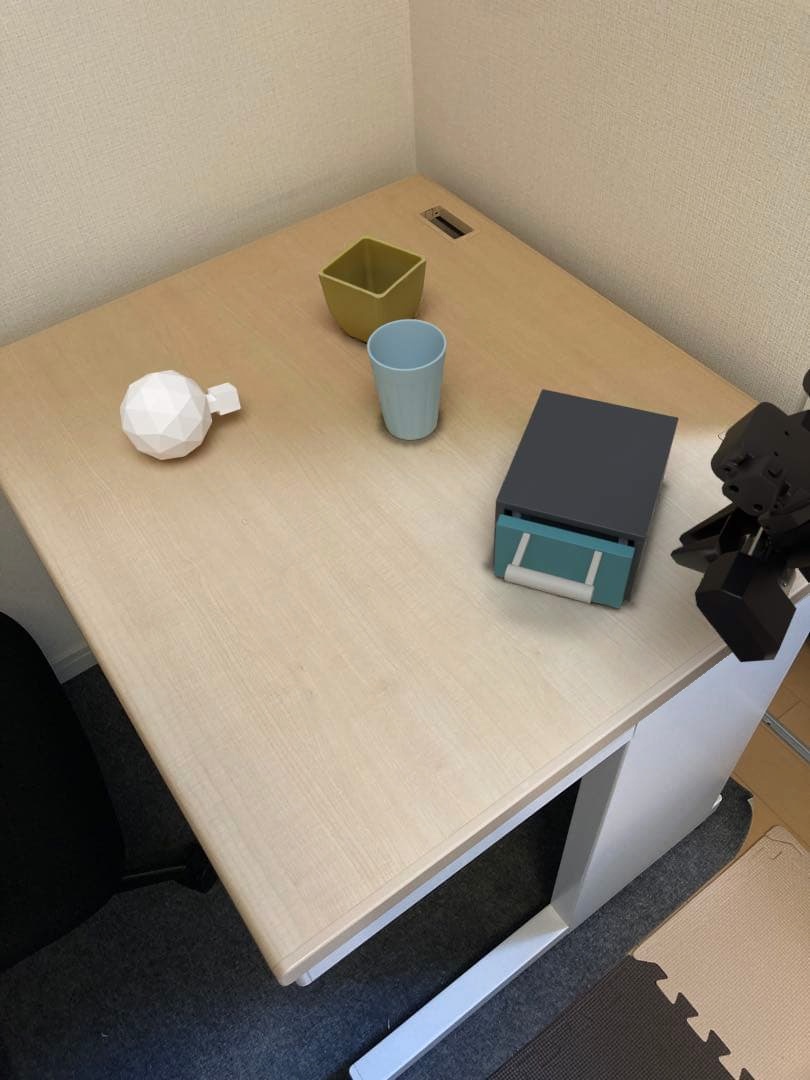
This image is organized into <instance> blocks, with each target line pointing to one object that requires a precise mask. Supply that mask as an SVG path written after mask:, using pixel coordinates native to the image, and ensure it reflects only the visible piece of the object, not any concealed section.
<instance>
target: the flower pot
mask: <svg viewBox="0 0 810 1080" xmlns="http://www.w3.org/2000/svg"><path fill="white" fill-rule="evenodd" d="M427 260H428V259H427V257H426V255H423V254H421V253H418V252H414V251H412V250H409V249H406V248H403V247H400V246H398V245H395V244H392V243H389V242H388V241H384V240H381V239H379V238H376V237H373V236H370V235H366V234H364V235H362V236H361V237H359V238H358V239H357V240H355V241H353V242H352V243H351V244H349V246H347V247H346V248H345V249H343V250H342V251H341V252H340V253H338V255H337V256H335V257H333V258H332V260H330V261H329V262H327V263H326V264H325V265H324V266H322V268H321V269H320V270H319V271H318V272H317V276H318V279H319V282H320V286H321V289H322V292H323V296H324V299H325V303H326V305H327V308H328V311H329V313H330V315H331V316H332V318H333V320H334V321H335V322H336V323H337V325H338V326H339V328H341V329H342V330H343V331H344V332H345V333H346V334H347V335H348V336H350V337H352V338H355V339H357V340H359V341H362V342H364V343H366V344H367V343H368V340H369V338H370V336H371V335H372V333H373V332H374V331H375V330H377V329H378V328H379V327H381V326H383V325H385V324H387V323H390V322H393V321H397V320H404V319H414V317H415V315H416V313H417V312H418V310H419V307H420V304H421V301H422V297H423V293H424V286H425V285H424V284H425V276H426V267H427Z"/></svg>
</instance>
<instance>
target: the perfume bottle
mask: <svg viewBox="0 0 810 1080" xmlns="http://www.w3.org/2000/svg"><path fill="white" fill-rule="evenodd" d="M237 389H238V388H237V387H235V386H234V385H232V384H231V383H229V382H224V383H221V384H217V385H215V386H212V387H208V388H207V392H208V393H207V394H205V393H204V391H203V390H202V389H201V387H200V386H199V385H198V383H197V382H196V381H195V380H194V379H193V378H190V377H188V376H187V375H183V374H181V373H179V372H177V371H176V370H173V369H169V370H161V371H157V372H150V373H147V374H146V375H143V376H142V377H140V378H139V379H136V381H134V382H132V383H130V384H129V386H128V387H127V391H126V393H125V396H124V397H123V400H122V402H121V404H120V406H119V413H120V419H121V427H122V430H123V432H124V433H125V435H126V436H127V437H128V439H129V440H130V442H131V443H132V444H133V446H134V447H135V448H136V450H137V451H139V452H141V453H144V454H145V455H148V456H150V457H153V458H155V459H157V460H159V461H163V460H170V459H177V458H182V457H183V458H184V457H187V455H189V454H190V453H191V452H193V451H194V450H196V449H197V448H198V447H199V446H201V445H202V443H203V441H204V440H205V437H206V435H207V433H208V431H209V430H210V428H211V425H212V423H213V419H212V418H213V417H212V414H213V413H215V412H216V413H217V414H218V416H223V415H226V414H230V413H233V412H235V411H239V410H240V409H242V407H241V403H240V398H239V394H238V390H237Z"/></svg>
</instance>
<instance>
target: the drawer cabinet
mask: <svg viewBox="0 0 810 1080" xmlns="http://www.w3.org/2000/svg"><path fill="white" fill-rule="evenodd" d="M536 400H537V401H536V403H535V406H534V407H533V410H532V412H531V415H530V417H529V419H528V422H527V425H526V427H525V430H524V431H523V434H522V436H521V439H520V442H519V443H518V446H517V448H516V450H515V453H514V456H513V457H512V461H511V463H510V465H509V468H508V470H507V473H506V475H505V477H504V480H503V482H502V484H501V487H500V490H499V492H498V494H497V496H496V499H495V508H494V509H495V510H494V532H493V534H494V535H493V537H494V538H493V554H492V555H493V559H492V566H494V565H495V542H496V523H497V521H498V519H499V516H500V514H503V515H507V516H511V517H512V511H516V512H520V513H524V514H528V515H532V516H536V517H540V518H544V519H548V520H552V521H556V522H560V523H564V524H568V525H572V526H576V527H580V528H584V529H588V530H592V531H596V532H600V533H604V534H608V535H612V536H616V537H620V538H624V539H628V540H631V543H630V547H634V548H635V551H634V555H633V559H632V564H631V568H630V572H629V576H628V580H627V585H626V589H625V593H624V597H623V601H627V602H631V600H632V595H633V591H634V588H635V585H636V581H637V577H638V573H639V570H640V567H641V563H642V559H643V555H644V552H645V548H646V545H647V541H648V537H649V534H650V530H651V526H652V522H653V518H654V515H655V511H656V507H657V504H658V501H659V500H658V499H659V497H660V493H661V489H662V487H663V483H664V477H665V473H666V470H667V466H668V463H669V459H670V454H671V450H672V446H673V442H674V438H675V435H676V430H677V427H678V423H679V417H678V416H672V415H668V414H664V413H658V412H653V411H648V410H644V409H639V408H635V407H630V406H626V405H625V406H624V405H619V404H616V403H611V402H606V401H601V400H597V399H592V398H587V397H583V396H577V395H572V394H568V393H563V392H559V391H553V390H549V389H544V388H542V389H541V391H540V393H539V396H538V398H537V399H536Z"/></svg>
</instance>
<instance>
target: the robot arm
mask: <svg viewBox="0 0 810 1080" xmlns="http://www.w3.org/2000/svg"><path fill="white" fill-rule="evenodd" d="M801 385H802V388H803V391H804V392H805V394H806V395H807V397H808V398H809V399H810V368H809V369H808V370H807V371H806V372H805V374H804V376H803V379H802V383H801ZM710 469H711V470H712V473H713V474H714V475H715V477H717V479H719V480H720V481H721V482H723V484H722V486H721V492H722V495H723V496H724V497H725V498H726V499H728V500H729V501H730V502H731V503H729V504H728V505H726V506H725V507H723V508H721V509H720V510H718V511H717V512H715V513H714V514H712V515H710V516H709V517H707V518H705V519H704V520H703V521H701V522H699V523H697V524H696V525H695V526H692V527H691V528H689V529H688V530H686V531H685V532H683V533H682V534H680V535H679V537H678V540H679V543H681V545H682V546H680V547H677V548H675V549H673V550H671V553H670V557H671V558H672V560H673V561H674V562H675V564H677V565H679V566H681V567H684V568H687V569H690V570H693V571H696V572H699V573H701V574H703V576H702V578H701V580H700V582H699V584H698V586H697V588H696V589H695V592H694V597H695V598H694V599H695V606H696V608H697V609H698V610H699V612H700V613H701V614H702V616H703V617H704V618H705V619H706V621H707V622H708V623H709V624H710V626H711V627H712V628H713V630H714V631H715V633H717V634H718V635H719V638H721V639H722V641H723V642H724V644H725V645H726V646H727V647H728V649H729V650H730V651H731V652H732V654H733V655H734V656H735V658H736V659H737V660H738V661H739V662H740V663H749V662H763V661H774V660H775V659H776V657H777V655H778V653H779V651H780V649H781V647H782V645H783V642H784V639H785V637H786V635H787V632H788V630H789V628H790V626H791V623H792V622H793V618H794V616H795V614H796V612H797V609H798V608H797V607H796V606H795V604H794V602H793V601H792V600H791V599H790V597H789V595H790V592H791V590H792V587H793V585H794V583H795V581H796V577H797V570H798V571H799V573H800V574H801V575H802V576H803V578H804V579H805V581H806V582H807V583H808V584H809V583H810V408H807V409H805V410H801V411H799V412H795V413H792V414H787V413H786V412H784V411H783V410H782V409H780V407H778V406H777V405H775V404H774V403H772V402H768V401H762V402H760V403H758V404H756V406H754V407H753V408H752V409H751V410H750V411H749V412H748V413H746V414H745V415H744V416H742V417H741V418H740V419H739V420H738V421H736V422H735V423H734V424H733V425H731V426H730V427H729V428H728V429H727V430H726V432H725V434H724V437H723V439H722V441H721V443H720V445H719V447H718V448H717V450H716V451H715V453H714V454H713V456H712V458H711V459H710Z"/></svg>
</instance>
